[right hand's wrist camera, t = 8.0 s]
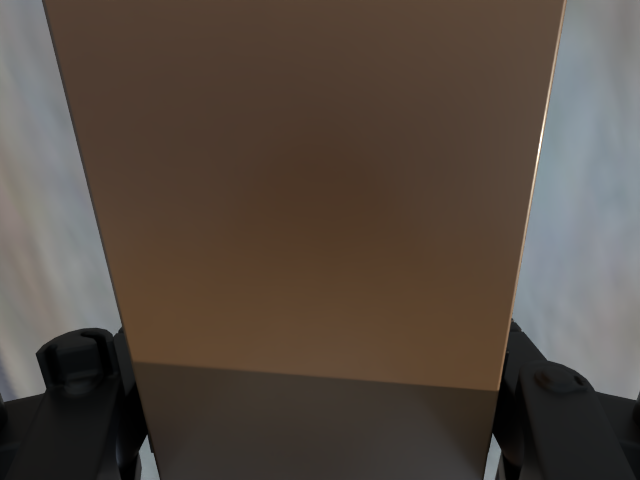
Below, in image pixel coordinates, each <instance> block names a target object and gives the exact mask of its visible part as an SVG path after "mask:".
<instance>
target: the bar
mask: <svg viewBox="0 0 640 480" xmlns="http://www.w3.org/2000/svg"><path fill="white" fill-rule="evenodd" d="M42 3H43V7H44V11H45V15H46V19H47V23H48V27H49V31H50V35H51V39H52V43H53V47H54V51H55V55H56V59H57V63H58V68H59V72H60V76H61V80H62V84H63V88H64V92H65V96H66V100H67V104H68V108H69V112H70V116H71V120H72V124H73V128H74V132H75V137H76V141H77V145H78V149H79V153H80V157H81V161H82V165H83V169H84V173H85V177H86V181H87V185H88V189H89V193H90V197H91V201H92V205H93V210H94V214H95V218H96V222H97V226H98V230H99V234H100V238H101V242H102V246H103V250H104V254H105V258H106V262H107V266H108V270H109V274H110V278H111V283H112V287H113V291H114V295H115V299H116V303H117V307H118V311H119V315H120V319H121V323H122V327H123V331H124V335H125V339H126V343H127V347H128V352H129V356H130V360H131V364H132V368H133V372H134V376H135V380H136V384H137V388H138V392H139V396H140V400H141V404H142V408H143V412H144V416H145V420H146V425H147V429H148V433H149V437H150V441H151V445H152V449H153V453H154V457H155V461H156V465H157V469H158V473H159V477H160V480H483V479H484V473H485V467H486V462H487V456H488V450H489V444H490V439H491V433H492V427H493V421H494V416H495V410H496V404H497V399H498V393H499V387H500V381H501V376H502V370H503V364H504V358H505V353H506V347H507V341H508V335H509V330H510V324H511V318H512V312H513V307H514V301H515V295H516V289H517V284H518V278H519V272H520V267H521V261H522V255H523V249H524V244H525V238H526V232H527V226H528V221H529V215H530V209H531V203H532V198H533V192H534V186H535V180H536V175H537V169H538V163H539V158H540V152H541V146H542V140H543V135H544V129H545V123H546V117H547V112H548V106H549V100H550V94H551V89H552V83H553V77H554V71H555V66H556V60H557V54H558V49H559V43H560V37H561V31H562V26H563V20H564V14H565V8H566V3H567V0H42Z"/></svg>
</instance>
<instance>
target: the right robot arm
mask: <svg viewBox="0 0 640 480" xmlns="http://www.w3.org/2000/svg"><path fill="white" fill-rule="evenodd" d="M521 330H522V329H521V328H520V327H519V326H518V325H517V323H516V322H514V320H513V319H512V318H511V324H510V330H509V335H508V341H507V347H506V353H505V358H504V364H503V370H502V376H501V381H500V387H499V393H498V399H497V404H496V410H495V416H494V421H493V427H492V433H493V434H494V436H495V438H496V440H497V442H498V444H499V446H500V448H501V455H500V459H499V464H498V468H497V473H496V477H495V480H640V392H639V395H638V398H637V400H632V399H627V398H622V397H618V396H613V395H608V394H604V393H600V392H596V391H595V390H594V388H593V387H592V386H591V384H590V383H589V382H588V380H587V379H586V378H584V377H583V376H582V375H580V374H579V373H578V372H576V371H575V370H573V369H570V368H568V367H566V366H564V365H562V364H558V363H555V362H551V361H547V359H546V358H545V357H544V356H543V355H542V353H541V352H540V351H539V350H538V349H537V347H536V346H535V345H534V344H533V343H532V341H531V340H530V339H529V338H528V337H527V335H526V334H525V333H524V332H522V331H521ZM36 357H37V360H38V363H39V366H40V369H41V372H42V376H43V379H44V382H45V385H46V388H47V389H46V391H45V393H43V394H39V395H35V396H30V397H26V398H21V399H16V400H12V401H7V402H3V399H2V396H1V394H0V480H140V479H141V470H142V466H141V459H140V455H139V450H140V448H141V446H142V444H143V442H144V440H145V438H146V436H147V435H148V440H149V444H150V449H151V453H153V449H152V445H151V441H150V437H149V433H148V429H147V425H146V420H145V416H144V412H143V408H142V404H141V400H140V396H139V392H138V388H137V384H136V380H135V376H134V372H133V368H132V364H131V360H130V356H129V352H128V347H127V343H126V339H125V335H124V331H123V327H121V328H120V330H119V331H118V333H116V334H115V336H114V337H113V335H112V334H111V333H110V332H109V331H107V330H105V329H100V328H84V329H79V330H75V331H71V332H68V333H65V334H63V335H60V336H58V337H56V338H54V339H52V340H51V341H49V342H48V343H46V344H44V345H43V346H42V347H41V348H40V349H39V350H38V352H37V353H36ZM492 433H491V438H492ZM490 443H491V439H490ZM489 448H490V444H489ZM488 452H489V450H488Z"/></svg>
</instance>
